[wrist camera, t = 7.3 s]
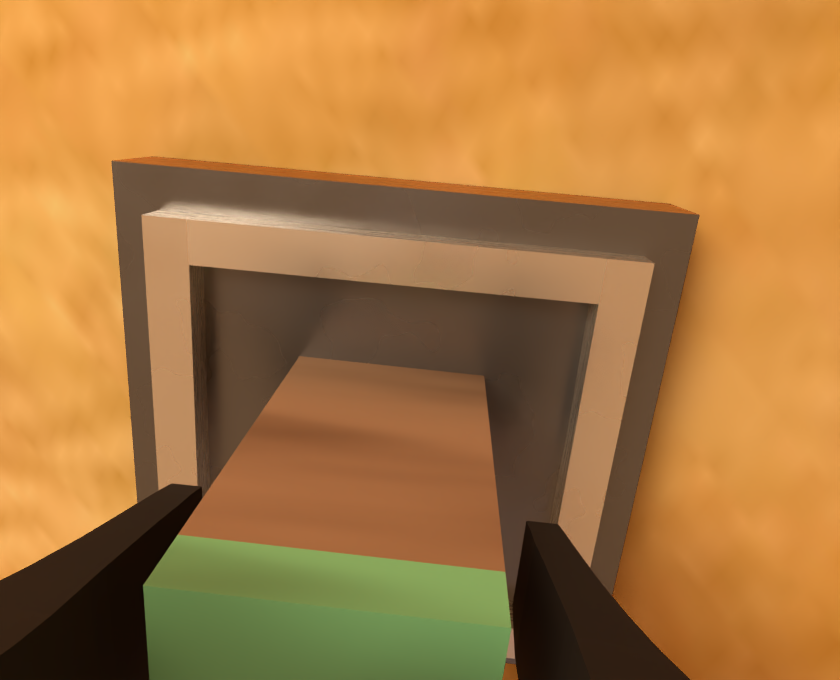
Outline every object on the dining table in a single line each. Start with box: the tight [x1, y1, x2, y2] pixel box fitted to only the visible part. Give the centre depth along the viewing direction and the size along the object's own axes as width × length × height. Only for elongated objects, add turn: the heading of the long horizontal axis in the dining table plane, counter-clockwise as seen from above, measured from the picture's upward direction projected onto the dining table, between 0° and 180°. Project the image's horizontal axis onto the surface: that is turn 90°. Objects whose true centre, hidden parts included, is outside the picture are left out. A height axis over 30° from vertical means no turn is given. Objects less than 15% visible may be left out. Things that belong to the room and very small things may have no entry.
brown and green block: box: [143, 356, 511, 680], centre depth 12 cm, size 4×4×8 cm
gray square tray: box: [112, 157, 699, 664], centre depth 16 cm, size 13×13×3 cm
